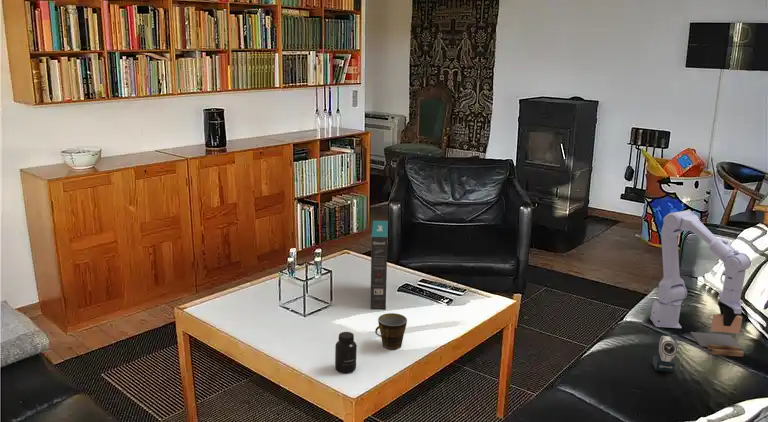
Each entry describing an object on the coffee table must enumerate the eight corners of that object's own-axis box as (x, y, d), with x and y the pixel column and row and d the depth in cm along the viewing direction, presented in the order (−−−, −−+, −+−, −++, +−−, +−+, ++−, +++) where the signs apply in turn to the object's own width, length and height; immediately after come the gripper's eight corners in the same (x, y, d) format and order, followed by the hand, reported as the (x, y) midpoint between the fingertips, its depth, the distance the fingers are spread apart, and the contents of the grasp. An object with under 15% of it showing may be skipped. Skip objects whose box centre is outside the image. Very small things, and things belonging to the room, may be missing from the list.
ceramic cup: (391, 336, 225) (392, 310, 222) (412, 346, 218) (413, 319, 216) (365, 347, 216) (365, 321, 214) (385, 358, 209) (386, 331, 207)
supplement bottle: (348, 376, 198) (348, 341, 195) (330, 370, 201) (330, 336, 198) (360, 367, 203) (360, 333, 200) (343, 361, 207) (343, 328, 204)
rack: (712, 354, 217) (713, 350, 216) (707, 348, 221) (708, 344, 221) (743, 356, 216) (743, 352, 215) (737, 350, 220) (738, 346, 220)
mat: (700, 346, 222) (701, 345, 222) (690, 333, 233) (690, 332, 233) (742, 350, 221) (742, 348, 220) (730, 335, 231) (730, 334, 231)
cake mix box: (385, 309, 247) (387, 237, 239) (370, 309, 247) (371, 236, 239) (386, 288, 268) (387, 220, 260) (372, 288, 268) (373, 220, 260)
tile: (712, 331, 219) (715, 315, 218) (710, 329, 221) (713, 313, 219) (739, 333, 218) (742, 317, 217) (737, 331, 220) (740, 315, 218)
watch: (657, 373, 203) (662, 342, 201) (651, 361, 211) (655, 331, 208) (675, 375, 203) (680, 344, 200) (668, 363, 210) (673, 333, 207)
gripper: (754, 297, 208) (746, 334, 211) (736, 281, 222) (729, 316, 225) (731, 295, 209) (724, 333, 212) (715, 279, 222) (709, 314, 226)
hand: (725, 324), depth 219 cm, fingers closed on tile, 1 cm apart
